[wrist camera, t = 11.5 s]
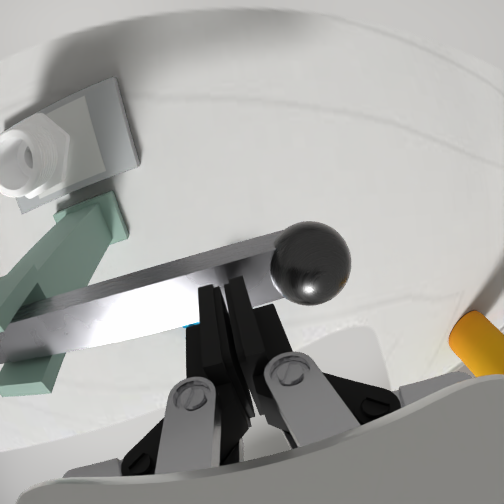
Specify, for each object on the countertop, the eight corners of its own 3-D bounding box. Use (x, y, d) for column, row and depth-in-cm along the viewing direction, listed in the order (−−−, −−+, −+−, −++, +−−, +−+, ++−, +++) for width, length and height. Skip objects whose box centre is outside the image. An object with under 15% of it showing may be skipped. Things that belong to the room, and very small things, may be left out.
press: (51, 264, 30) (-32, 400, 12) (3, 134, 22) (-141, 186, 4) (161, 228, 30) (130, 386, 12) (116, 78, 23) (-8, 33, 5)
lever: (15, 350, 15) (-5, 390, 11) (-15, 304, 13) (-42, 341, 10) (334, 267, 16) (366, 306, 13) (327, 202, 14) (364, 230, 11)
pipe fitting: (25, 182, 24) (-18, 206, 17) (32, 111, 21) (-13, 114, 14) (78, 188, 26) (44, 215, 18) (88, 114, 23) (53, 115, 16)
